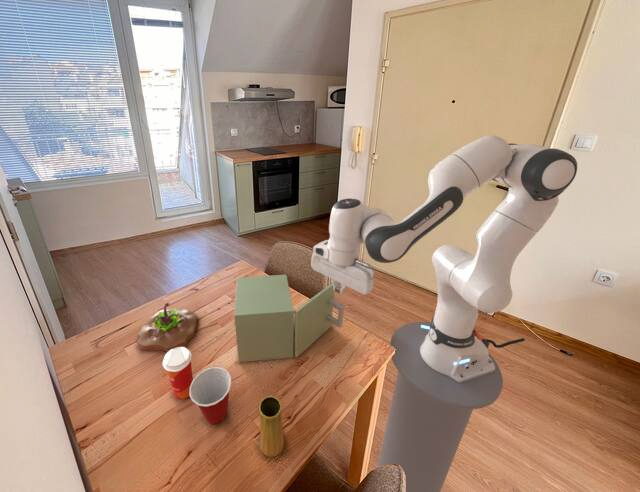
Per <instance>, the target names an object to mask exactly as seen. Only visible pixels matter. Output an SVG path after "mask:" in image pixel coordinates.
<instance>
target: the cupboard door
mask: <svg viewBox="0 0 640 492" xmlns="http://www.w3.org/2000/svg"><path fill="white" fill-rule="evenodd" d="M334 296H335V291H334V286H333V284H332V282H331V283H330V284H329V285H327V286H326V287H324V288H323V289H322V290H321V291H319V292H318V293H316V294H314V296H312V297H311V298H309V299H308V300H307V301H305V303H303V304H302V305H300V306H299V307H297V308H296V309H295V310H294V357H295V358H299V356H301V354H303V353H304V352H305V351H306V350H307V349H308V348H309V347H310V346H312V345H313V343H315V342H316V341H317V340H318V339H319V338H320V337H321V336H322V335H323V334H325V333H326V332H327V331H328V330H329V329H330V328H331V327H332V325H334V326H336V327H337V328H340V329H341V328H342V327H343V321H344V312H345V305H344V304H343V303H340V301H337V300H336V299H334ZM334 308H335V309H336V310H338V316H337V317H338V318H336V317H335V316H333V309H334Z"/></svg>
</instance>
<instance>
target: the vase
mask: <svg viewBox="0 0 640 492" xmlns="http://www.w3.org/2000/svg"><path fill="white" fill-rule="evenodd" d="M282 408H283V407H282V402H281V400H280V399H279V398H278V397H276V396H274V395H273V396H272V395H267V396H265V397H263V398H262V399H261V400H260V403H259V408H258V413H259V415H258V416H259V437H260V439H259V449H260V451H261V452H262V453H263V454H264V455H265V456H266V457H270V458H271V457H272V458H273V457H277V456H278V455H280V454H281V452H282V451H283V450H284V445H285V440H284V428H283V427H284V426H283V413H282V410H283V409H282Z"/></svg>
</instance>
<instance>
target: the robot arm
mask: <svg viewBox="0 0 640 492" xmlns="http://www.w3.org/2000/svg"><path fill="white" fill-rule="evenodd" d="M577 172H578V161H577V159H576V158H575V156H574V155H572V154H570V153H569V152H567V151H564V150H562V149H559V148H551V147H547V146H542V145H538V144H518V143H508V141H506V140H505V139H504V138H503V137H501V136H497V135H494V134H493V135H492V134H491V135H485V136H482V137H480V138H478V139H475V140H474V141H472V142H469V143H467V144H466V145H464V146H462V147H460V148H459V149H457V150H455V151H453V152H452V153H450V154H449V155H447V156H446V157H444V158H443V159H441V160H440V161H438V163H436V164H435V165H434V167H433V168H431V169H430V171H429V174H428V177H427V186H428V190H429V191H428V192H429V194H428V197H427V199H426V200H425V201H424V202H423V203H422V204H421V205H419V207H417V208H416V209H414V211H412V212H410V214H408V215H407V216H405V217H404V218H403V219H402V220H400V221H398V222H395V221H394V219H393V218H392V216H390V215H389V214H388V213H387V212H386V211H384V210H382V209H380V208H374V207H370V206H368V205H366V204H364V203H363V201H361V200H359V199H357V198H343V199H340V200H338V201H336V202H335V203H334V205H332V208H331V211H330V216H329V223H328V233H329V238H328V239H325V240H323V241H320V242H318V243H317V244H315V245H314V246H313V247H312V251H313V252H312V254H311V259H310V266H311V269H312V270H313V271H314V272H317V273H319V274H321V275H323V276H325V277H327V278H329V279H330V282H331V283H332V284H333V286H334V293H338V294H339V295H343V294H345V289H347V288H349V289H351V290H354V291H356V292H357V293H360V294H361V295H364V296H366V295H369V293H371V292H372V291H373V289H374V282H375V281H374V278H375V272H376V271H375V268H374V267H372V265H371V264H370V263H368V262H364V261H363V260H360V259H358V258H359V251H360V245H361V244H364V245H365V248H366V251H367V254H368V256H369V257H370V258H371V259H372V260H373V261H375V262H378V263H381V264H390V263H394V262H397V261H399V260H401V259H402V258H403V257H404V256H405V255H407V253H408V252H409V251H410V250H411V248H413V246H415V244H416V243H417V242H419V241H420V240H421V239H422V238H424V237H426V236H427V235H428V234H429V233H431V232H432V231H433V230H434V229H435V228H437V227H438V226H439V225H441V224H442V223H443V222H445V221H446V220H447V219H448V218H449V217H451V216H452V215H454V214H455V212H457V210H459V209H460V207H461V206H462V205H463V202H464V200H465V199H467V197H468V196H469V195H471V194H472V193H474V192H475V191H476V190H478V189H480V188H482V187H483V186H484V185H486V184H487V183H488V182H490V181H494V182H497V183H500V184H501V185H504V186H507V187H508V190H507V194H506V195H505V198H504V199H503V200H502V201H501V202H500V203H499V204H498V205H497V206H496V207H495V209H494V210H493V211H492V212H491V213H490V215H489V216H488V217H487V218H486V219H485V221H484V222H483V223H482V224H481V226H480V227H479V228H478V229H477V230H476V233H475V238H476V242H477V248H476V252H475V255H473V254H471V253H470V252H469V251H468V250H466V249H464V248H461V247H459V246H457V245H454V244H450V243H449V244H443V245H441V246H439V247H438V248H436V250H435V251H434V252H433V254H432V255H431V264H432V267H433V269H434V272H435V278H436V290H437V301H436V305H435V306H436V307H435V311H434V315H433V317H432V318H431V321H430V322H431V324H430V327H428V326H424V325H421V327H422V328H426V329H429V332H428V335H426V337H425V341H424V342H423V344H422V345H421V347H420V354H421V357H422V358H423V360H424V361H425V362H426V364H427V365H429V366H430V367H431V368H432V369H434V370H436V371H437V372H439V373H442V374H444V375H447V376H449V377H451V378H452V379H454V380H455V381H457V382H464V381H467V380H470V379H473V378H476V377H479V376H482V375H485V374H488V373H491V372H494V371H495V365H494V363H493V361H492V359H491V358H490V357H489V354H490V353H489V347H490V344H492V346H493V347H494V348H496V349H501V348H505V347H507V346H510V345H514V344H519V343H522V342H525V341H526V339H525V338H523V337H521V338H518V339H517V338H516V339H514V340H510V341H506V342H504V343H501V344H496V342H495V341H494V340H492V339H487V338H485V336H484V335H483V334H482V333H481V332H480V331H478V330H476V329H475V326H476V323H477V320H478V318H479V311H480V312H482V313H484V314H494V313H498V312H501V311H503V310H505V309H506V308H507V307H508V306H509V305H510V303H511V301H512V298H513V290H512V286H511V275H512V269H513V267H514V265H515V262H516V260H517V258H518V256H519V255H520V254H521V252H522V251H523V250H524V249H525V247H526V246H527V245H528V244H529V243H530V242H531V240H533V238H534V237H535V236H536V235H537V233H539V232H540V231H541V229H542V228H543V227H544V226H545V225H546V223H547V222H548V221H549V219H550V218H551V216H552V215H553V213H554V212H555V210H556V208H557V206H558V204H559V201H560V200H559V196H560V195H561V194H562V193H563V192H564V191H566V190H567V189H568V188H569V187H570V186H571V184H572V183H573V181H574V179H575V177H576V176H577Z"/></svg>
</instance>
